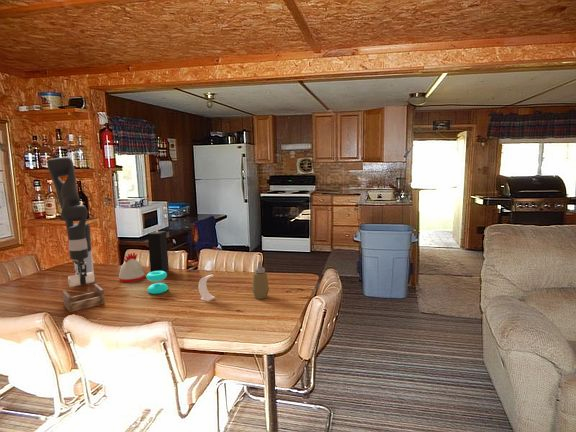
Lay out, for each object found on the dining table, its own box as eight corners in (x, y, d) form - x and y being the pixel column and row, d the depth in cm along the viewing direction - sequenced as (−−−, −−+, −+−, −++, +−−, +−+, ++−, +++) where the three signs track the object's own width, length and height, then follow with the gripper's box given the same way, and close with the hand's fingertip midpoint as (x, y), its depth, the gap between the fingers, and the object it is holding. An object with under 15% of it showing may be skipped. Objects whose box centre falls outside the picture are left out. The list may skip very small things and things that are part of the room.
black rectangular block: (162, 274, 225) (159, 228, 221) (150, 273, 227) (147, 228, 223) (169, 270, 233) (165, 225, 229) (157, 269, 234) (154, 225, 230)
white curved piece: (208, 301, 179) (206, 277, 177) (199, 299, 182) (197, 275, 180) (214, 298, 182) (213, 274, 181) (205, 296, 186) (204, 272, 184)
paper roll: (70, 288, 172) (68, 277, 171) (67, 285, 175) (66, 275, 175) (96, 282, 179) (95, 272, 178) (93, 280, 182) (92, 270, 182)
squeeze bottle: (271, 295, 185) (270, 259, 182) (265, 301, 177) (264, 264, 175) (256, 293, 187) (255, 258, 185) (249, 299, 180) (248, 263, 177)
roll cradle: (69, 312, 169) (67, 297, 168) (64, 305, 178) (62, 291, 177) (104, 303, 179) (103, 289, 178) (97, 297, 188) (96, 283, 187)
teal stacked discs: (170, 272, 193) (152, 276, 186) (171, 290, 195) (153, 296, 188) (160, 268, 200) (142, 273, 193) (162, 286, 202) (144, 291, 194)
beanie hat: (149, 277, 220) (147, 252, 218) (129, 283, 209) (126, 257, 206) (135, 273, 228) (133, 249, 225) (114, 280, 216) (111, 254, 214)
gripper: (65, 247, 178) (69, 281, 180) (72, 252, 167) (76, 288, 169) (83, 244, 182) (86, 278, 185) (91, 249, 172) (94, 285, 174)
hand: (81, 283), depth 177 cm, fingers closed on paper roll, 5 cm apart
